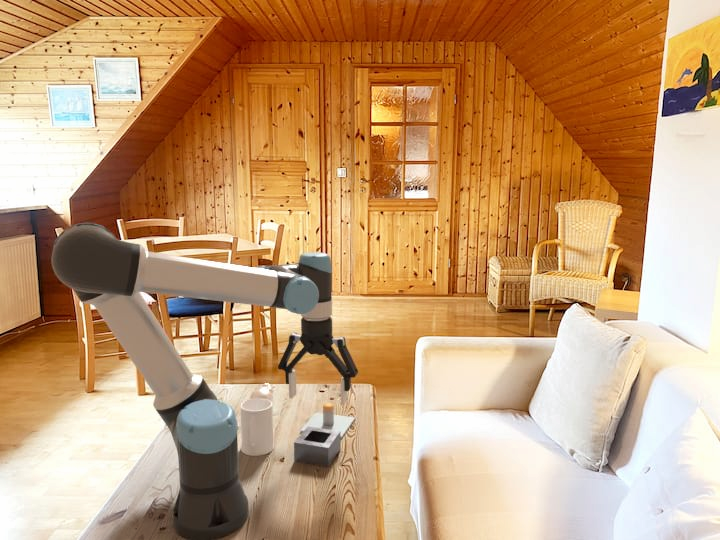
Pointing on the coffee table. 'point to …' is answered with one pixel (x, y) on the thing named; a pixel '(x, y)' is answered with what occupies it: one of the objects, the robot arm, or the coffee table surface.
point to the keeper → (330, 420)
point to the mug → (257, 427)
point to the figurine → (263, 392)
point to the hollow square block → (317, 446)
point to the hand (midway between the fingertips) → (318, 399)
